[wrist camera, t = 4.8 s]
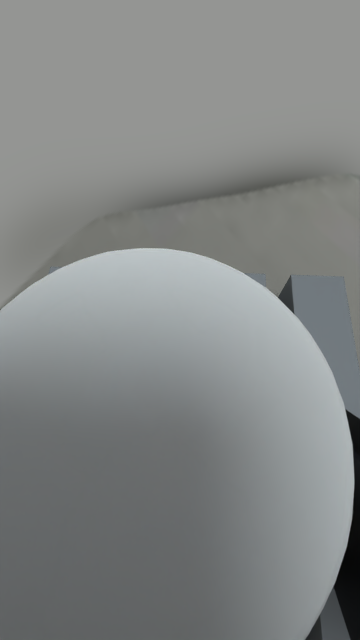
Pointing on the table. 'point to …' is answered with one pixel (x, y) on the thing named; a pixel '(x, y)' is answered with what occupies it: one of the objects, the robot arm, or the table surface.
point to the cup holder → (340, 353)
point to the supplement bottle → (166, 456)
